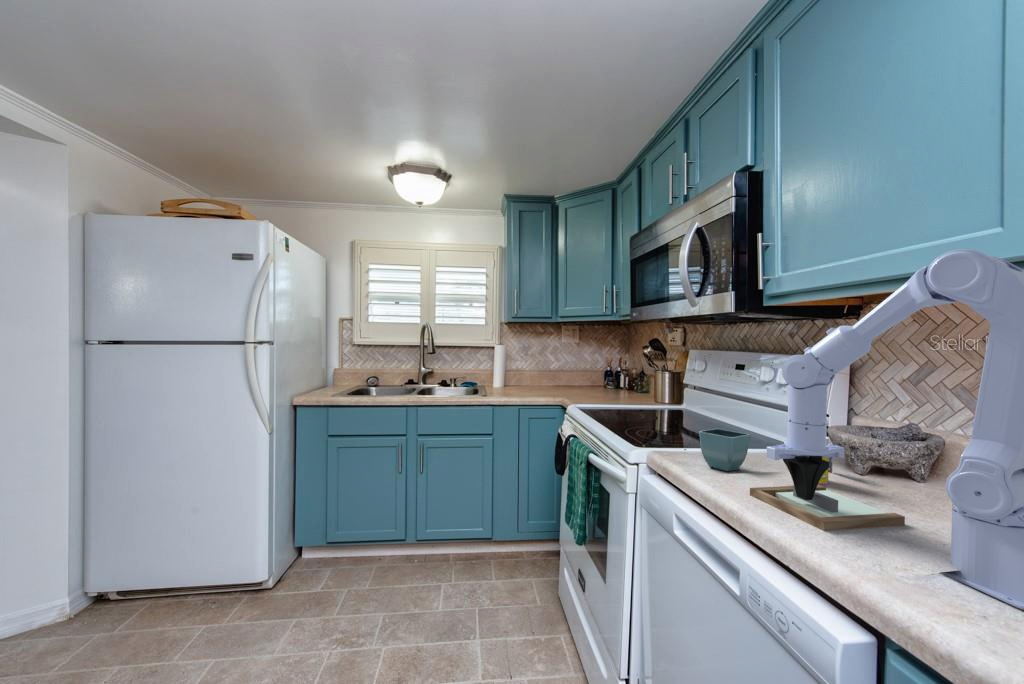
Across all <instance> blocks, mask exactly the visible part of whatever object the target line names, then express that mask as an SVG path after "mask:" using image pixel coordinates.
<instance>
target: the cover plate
mask: <svg viewBox="0 0 1024 684" xmlns="http://www.w3.org/2000/svg"><path fill="white" fill-rule="evenodd" d="M792 486H793V492H778V493H776V498H778V499H781V500H783V501H785V502H787V503H789V504H792V505H794V506H796V507H798V508H800V509H803V510H805V511H807V512H809V513H811V514H814V515H816V516H818V517H835V516H851V515H867V514H883V513H889V512H888V511H884V510H882V509H879V508H876V507H874V506H872V505H868V504H866V503H863V502H860V501H858V500H855V499H852V498H850V497H847V496H844V495H842V494H839V493H837V492H834V491H832V490H830V489H829V490H828V489H826V490H820V491H815V493H814V496H813V499H812V500H804V499H802V498H799V497H797V495H796V491H795V487H794V484H793V485H792Z"/></svg>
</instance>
